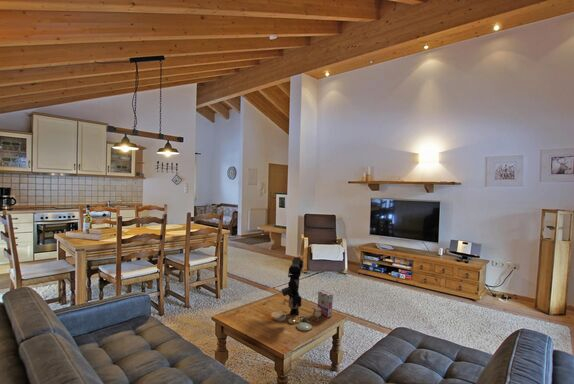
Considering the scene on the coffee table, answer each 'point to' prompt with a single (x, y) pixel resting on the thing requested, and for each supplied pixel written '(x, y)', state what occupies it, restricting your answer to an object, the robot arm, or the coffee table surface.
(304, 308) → the coffee table surface
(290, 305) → the walnut block
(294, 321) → the balance
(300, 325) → the sage dish
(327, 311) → the candy bar box
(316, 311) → the oak block
